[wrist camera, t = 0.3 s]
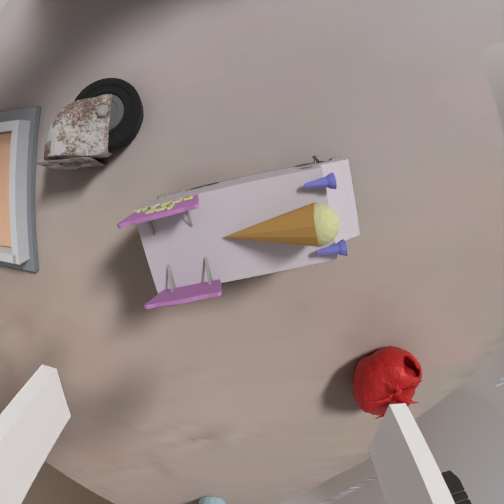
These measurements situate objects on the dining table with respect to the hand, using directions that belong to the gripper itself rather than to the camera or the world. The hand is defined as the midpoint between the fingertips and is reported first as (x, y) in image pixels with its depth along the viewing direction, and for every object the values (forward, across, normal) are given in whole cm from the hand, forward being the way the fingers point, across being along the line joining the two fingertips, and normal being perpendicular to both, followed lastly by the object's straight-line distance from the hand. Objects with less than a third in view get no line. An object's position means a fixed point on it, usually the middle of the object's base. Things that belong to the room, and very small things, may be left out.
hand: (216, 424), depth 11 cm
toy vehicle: (+27, +1, +4) cm, 27 cm away
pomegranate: (+27, +21, -16) cm, 38 cm away
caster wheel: (+27, -18, +12) cm, 35 cm away
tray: (+27, -39, +4) cm, 47 cm away
